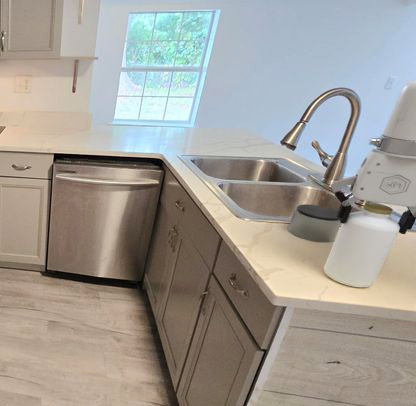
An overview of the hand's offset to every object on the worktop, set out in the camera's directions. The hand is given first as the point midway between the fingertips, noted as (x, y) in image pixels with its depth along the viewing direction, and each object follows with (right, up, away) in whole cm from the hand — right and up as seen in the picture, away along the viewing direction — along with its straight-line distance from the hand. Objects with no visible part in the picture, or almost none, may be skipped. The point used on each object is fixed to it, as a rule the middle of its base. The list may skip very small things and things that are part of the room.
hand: (370, 225), depth 78 cm
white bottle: (0, -13, +5) cm, 14 cm away
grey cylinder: (+10, -4, +25) cm, 27 cm away
